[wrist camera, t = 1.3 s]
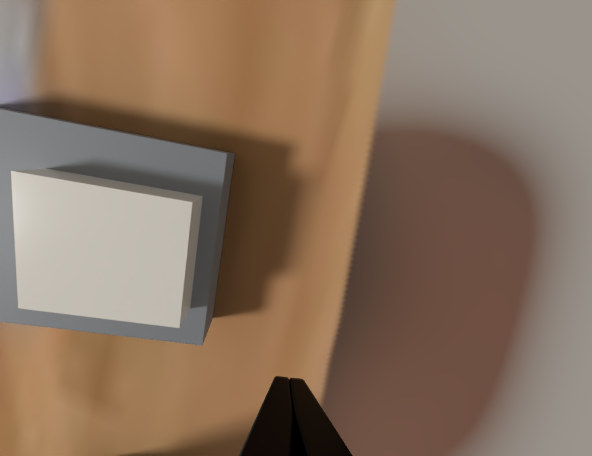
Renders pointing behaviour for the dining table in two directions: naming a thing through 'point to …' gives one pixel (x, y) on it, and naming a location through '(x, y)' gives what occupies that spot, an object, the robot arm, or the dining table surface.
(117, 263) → the tile
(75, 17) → the dining table surface
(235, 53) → the dining table surface
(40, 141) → the plate
